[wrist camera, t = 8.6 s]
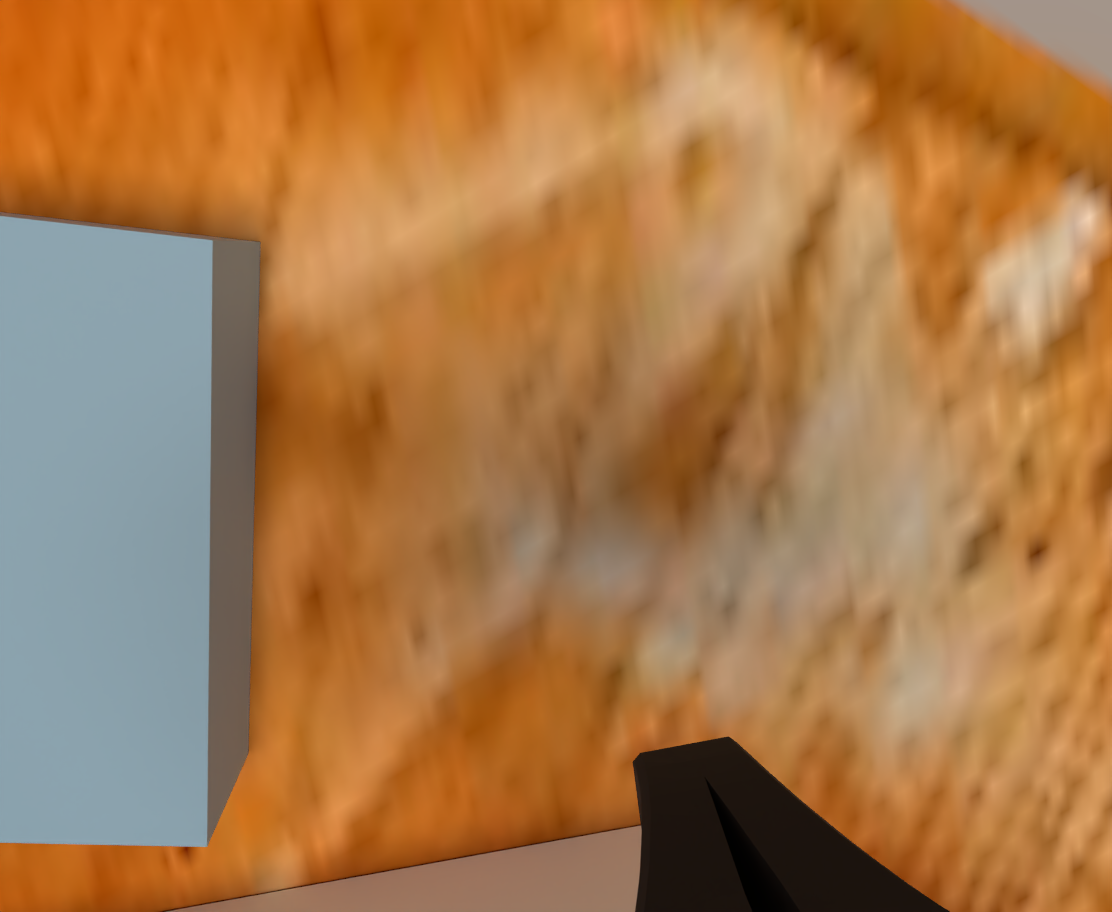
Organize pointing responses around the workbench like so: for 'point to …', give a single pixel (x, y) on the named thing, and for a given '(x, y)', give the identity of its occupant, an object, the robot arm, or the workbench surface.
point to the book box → (124, 529)
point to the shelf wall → (480, 883)
